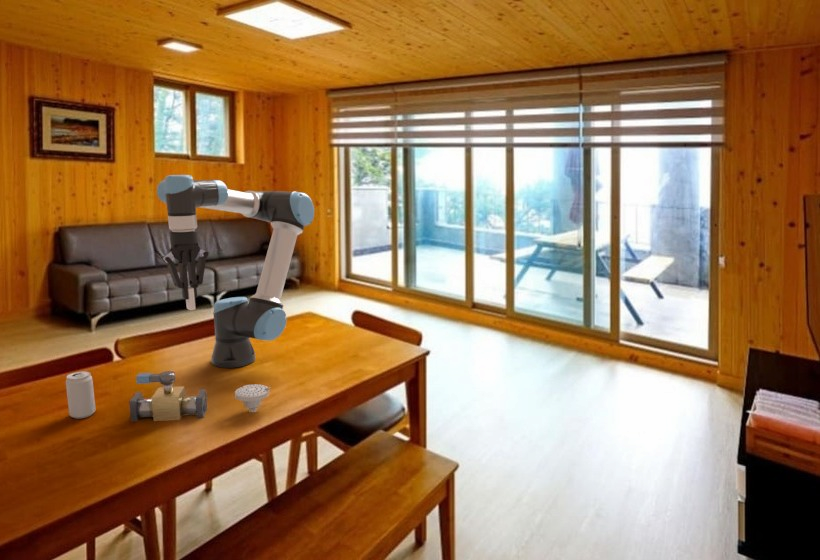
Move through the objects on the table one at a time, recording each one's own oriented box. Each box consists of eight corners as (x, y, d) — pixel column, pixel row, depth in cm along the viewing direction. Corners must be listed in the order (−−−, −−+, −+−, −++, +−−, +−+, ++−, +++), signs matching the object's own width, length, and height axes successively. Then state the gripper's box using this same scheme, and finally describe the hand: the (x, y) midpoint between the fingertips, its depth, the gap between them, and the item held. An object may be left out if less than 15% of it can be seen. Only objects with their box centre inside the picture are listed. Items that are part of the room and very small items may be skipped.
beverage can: (89, 407, 160) (84, 368, 157) (100, 413, 156) (96, 373, 154) (65, 415, 155) (60, 375, 152) (76, 421, 151) (71, 380, 149)
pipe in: (180, 418, 154) (179, 398, 153) (185, 409, 160) (184, 390, 158) (203, 417, 155) (201, 397, 154) (207, 408, 161) (206, 389, 159)
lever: (177, 378, 156) (176, 370, 156) (172, 384, 152) (172, 376, 152) (141, 379, 155) (140, 371, 155) (135, 385, 151) (135, 377, 151)
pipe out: (131, 421, 152) (129, 401, 150) (138, 412, 158) (136, 392, 156) (154, 420, 153) (152, 400, 151) (160, 411, 158) (158, 391, 157)
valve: (153, 421, 152) (150, 388, 150) (160, 410, 159) (158, 378, 157) (180, 419, 153) (177, 387, 151) (186, 408, 160) (183, 377, 158)
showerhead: (267, 393, 154) (231, 394, 153) (268, 417, 155) (232, 418, 154) (273, 380, 163) (238, 381, 162) (274, 403, 164) (239, 404, 164)
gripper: (199, 226, 164) (206, 302, 170) (154, 231, 155) (163, 311, 161) (211, 228, 159) (217, 307, 165) (166, 233, 150) (174, 316, 156)
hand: (191, 309), depth 163 cm, fingers closed
